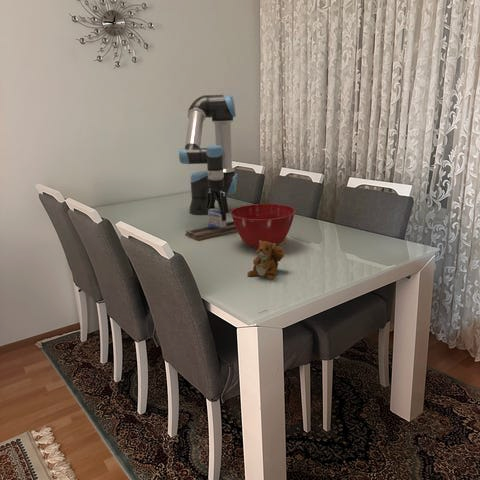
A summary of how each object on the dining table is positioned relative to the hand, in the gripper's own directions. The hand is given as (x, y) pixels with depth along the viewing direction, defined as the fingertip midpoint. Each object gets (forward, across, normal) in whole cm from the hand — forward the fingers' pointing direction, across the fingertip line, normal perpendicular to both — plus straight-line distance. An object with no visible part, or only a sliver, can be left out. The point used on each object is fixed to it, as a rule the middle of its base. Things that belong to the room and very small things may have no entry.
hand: (217, 224), depth 222 cm
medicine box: (+1, 0, 0) cm, 1 cm away
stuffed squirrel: (+4, +58, -16) cm, 60 cm away
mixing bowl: (+4, +29, +5) cm, 30 cm away
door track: (+4, 0, 0) cm, 4 cm away
